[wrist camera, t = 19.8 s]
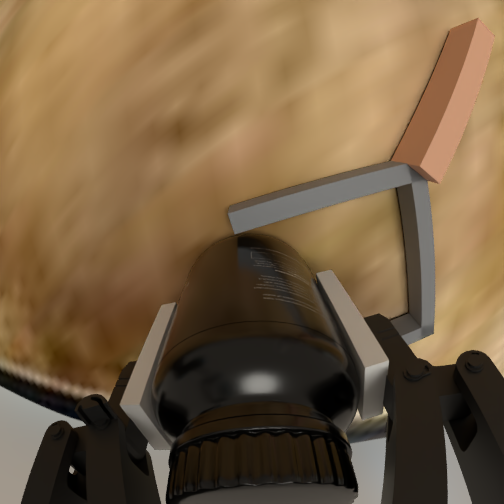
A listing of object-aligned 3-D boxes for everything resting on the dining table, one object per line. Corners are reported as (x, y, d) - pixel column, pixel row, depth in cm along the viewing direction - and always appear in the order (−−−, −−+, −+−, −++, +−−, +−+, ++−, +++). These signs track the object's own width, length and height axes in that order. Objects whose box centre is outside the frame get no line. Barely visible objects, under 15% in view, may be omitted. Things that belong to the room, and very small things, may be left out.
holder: (495, 282, 17) (518, 300, 14) (284, 366, 18) (290, 399, 16) (461, 30, 11) (488, 20, 8) (182, 65, 12) (168, 47, 9)
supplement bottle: (163, 270, 16) (65, 470, 4) (275, 206, 15) (370, 396, 3) (229, 357, 18) (224, 545, 6) (330, 308, 17) (413, 495, 5)
